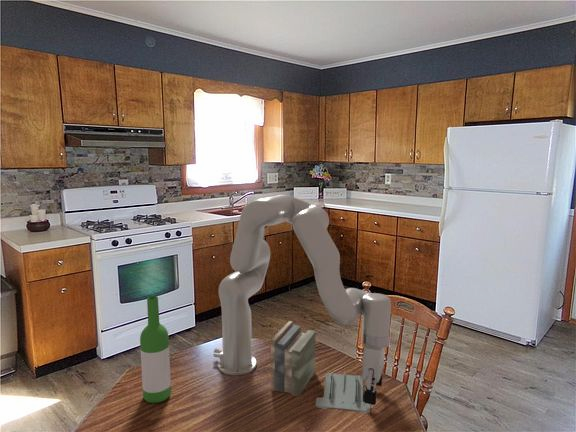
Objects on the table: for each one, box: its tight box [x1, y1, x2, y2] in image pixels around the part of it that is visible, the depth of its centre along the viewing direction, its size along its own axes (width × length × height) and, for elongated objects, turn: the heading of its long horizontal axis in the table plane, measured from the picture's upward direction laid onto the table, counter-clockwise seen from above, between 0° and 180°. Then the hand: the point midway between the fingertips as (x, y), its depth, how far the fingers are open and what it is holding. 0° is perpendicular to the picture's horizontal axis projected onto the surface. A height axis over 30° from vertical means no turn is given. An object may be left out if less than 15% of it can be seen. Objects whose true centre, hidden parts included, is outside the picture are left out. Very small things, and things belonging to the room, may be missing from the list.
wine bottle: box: [139, 295, 172, 404], centre depth 115 cm, size 8×8×30 cm
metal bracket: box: [315, 370, 371, 414], centre depth 117 cm, size 14×6×15 cm
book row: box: [270, 320, 317, 398], centre depth 124 cm, size 9×14×16 cm, turn 158°
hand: (373, 393), depth 116 cm, fingers open, 9 cm apart
